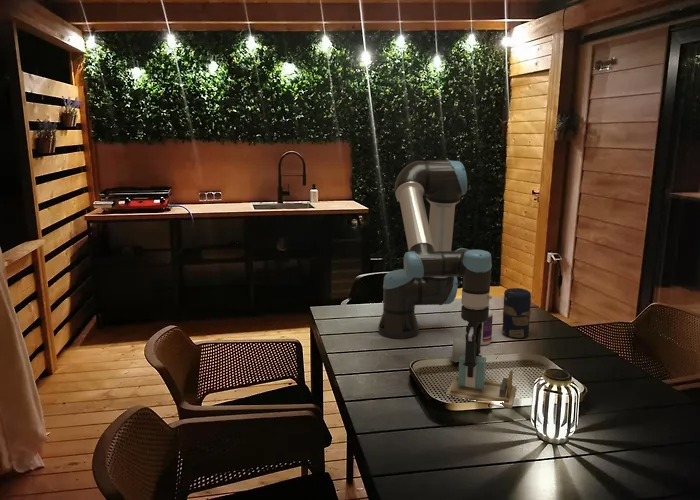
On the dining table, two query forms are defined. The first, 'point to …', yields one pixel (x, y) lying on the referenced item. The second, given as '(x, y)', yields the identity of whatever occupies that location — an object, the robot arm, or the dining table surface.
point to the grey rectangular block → (458, 349)
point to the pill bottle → (487, 330)
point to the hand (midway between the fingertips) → (471, 382)
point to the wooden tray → (486, 391)
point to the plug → (479, 371)
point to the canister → (516, 312)
